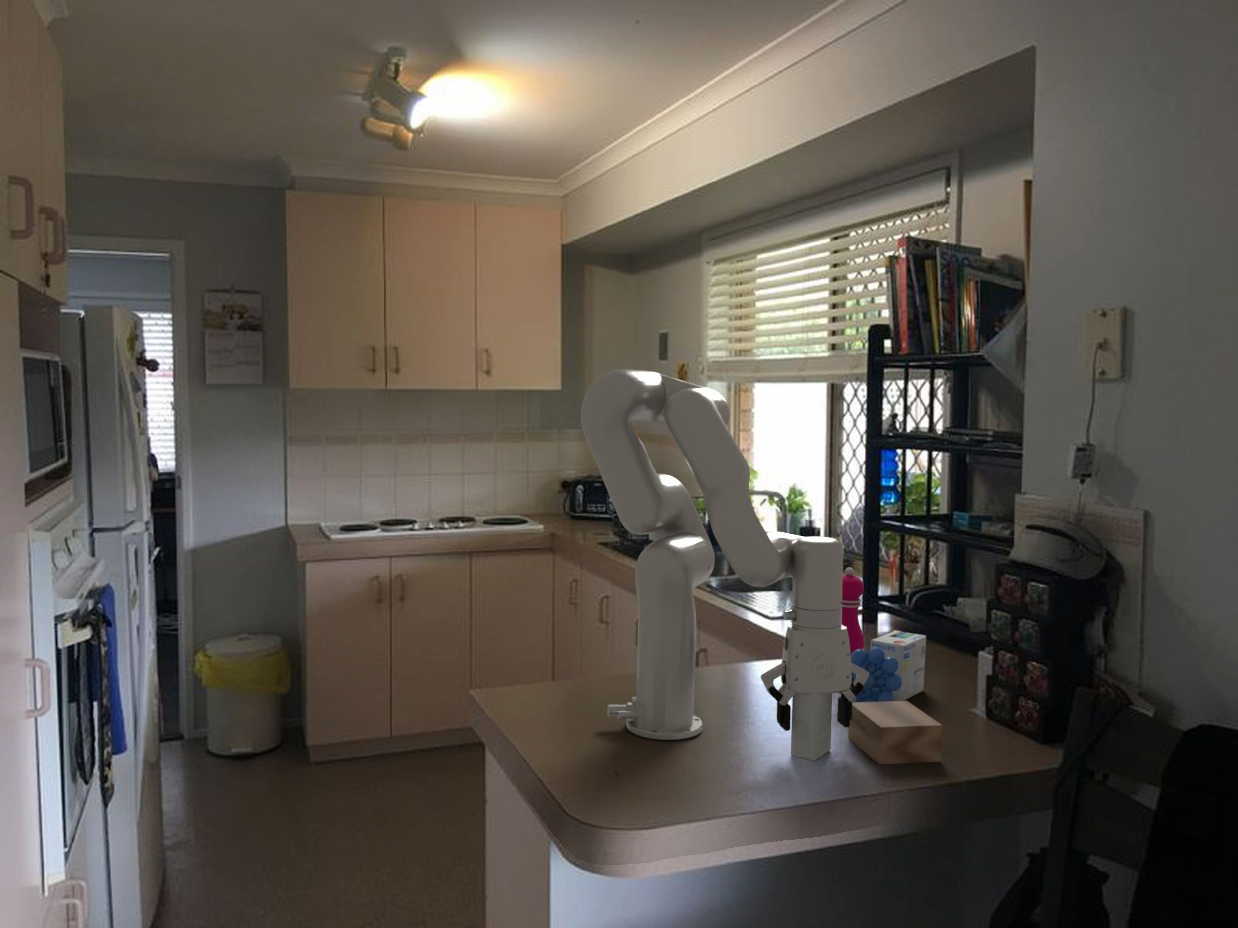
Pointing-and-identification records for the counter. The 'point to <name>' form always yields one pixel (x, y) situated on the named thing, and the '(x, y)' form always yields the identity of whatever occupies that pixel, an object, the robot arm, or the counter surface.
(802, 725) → the skincare box
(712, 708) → the counter surface
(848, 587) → the pepper mill
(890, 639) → the light bulb box
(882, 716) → the wooden block
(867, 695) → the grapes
